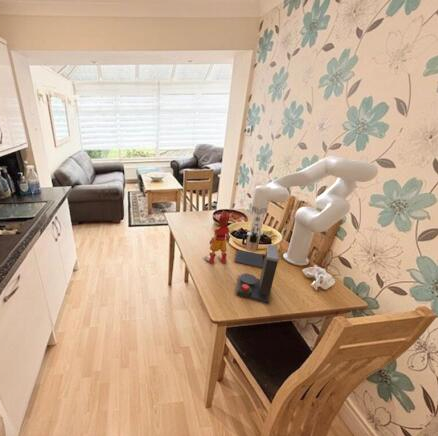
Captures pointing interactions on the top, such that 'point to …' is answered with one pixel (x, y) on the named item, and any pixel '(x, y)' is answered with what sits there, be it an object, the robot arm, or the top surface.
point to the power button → (245, 287)
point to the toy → (220, 238)
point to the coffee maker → (252, 292)
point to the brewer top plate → (249, 258)
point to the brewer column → (265, 271)
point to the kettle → (250, 245)
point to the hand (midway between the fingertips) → (253, 239)
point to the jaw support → (319, 277)
